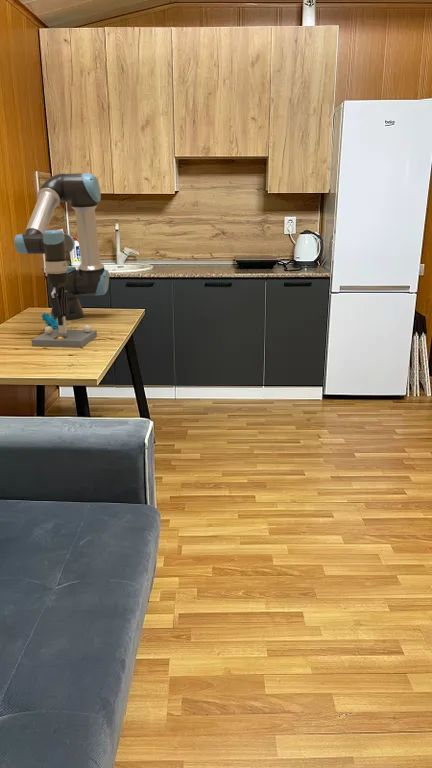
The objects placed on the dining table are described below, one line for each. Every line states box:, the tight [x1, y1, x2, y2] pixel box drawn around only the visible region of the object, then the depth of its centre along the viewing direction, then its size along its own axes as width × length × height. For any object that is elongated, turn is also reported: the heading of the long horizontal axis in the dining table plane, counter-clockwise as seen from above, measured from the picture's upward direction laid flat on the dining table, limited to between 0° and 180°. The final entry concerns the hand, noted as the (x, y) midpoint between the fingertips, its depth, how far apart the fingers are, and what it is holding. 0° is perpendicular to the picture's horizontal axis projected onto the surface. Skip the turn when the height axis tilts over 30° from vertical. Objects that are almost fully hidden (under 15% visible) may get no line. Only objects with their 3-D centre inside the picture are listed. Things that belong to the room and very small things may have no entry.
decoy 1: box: [44, 325, 54, 334], centre depth 225 cm, size 3×3×3 cm
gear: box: [41, 312, 58, 331], centre depth 242 cm, size 11×6×10 cm
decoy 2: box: [82, 324, 92, 333], centre depth 227 cm, size 3×3×3 cm
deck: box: [30, 328, 98, 348], centre depth 224 cm, size 18×20×2 cm
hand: (62, 332), depth 221 cm, fingers closed
